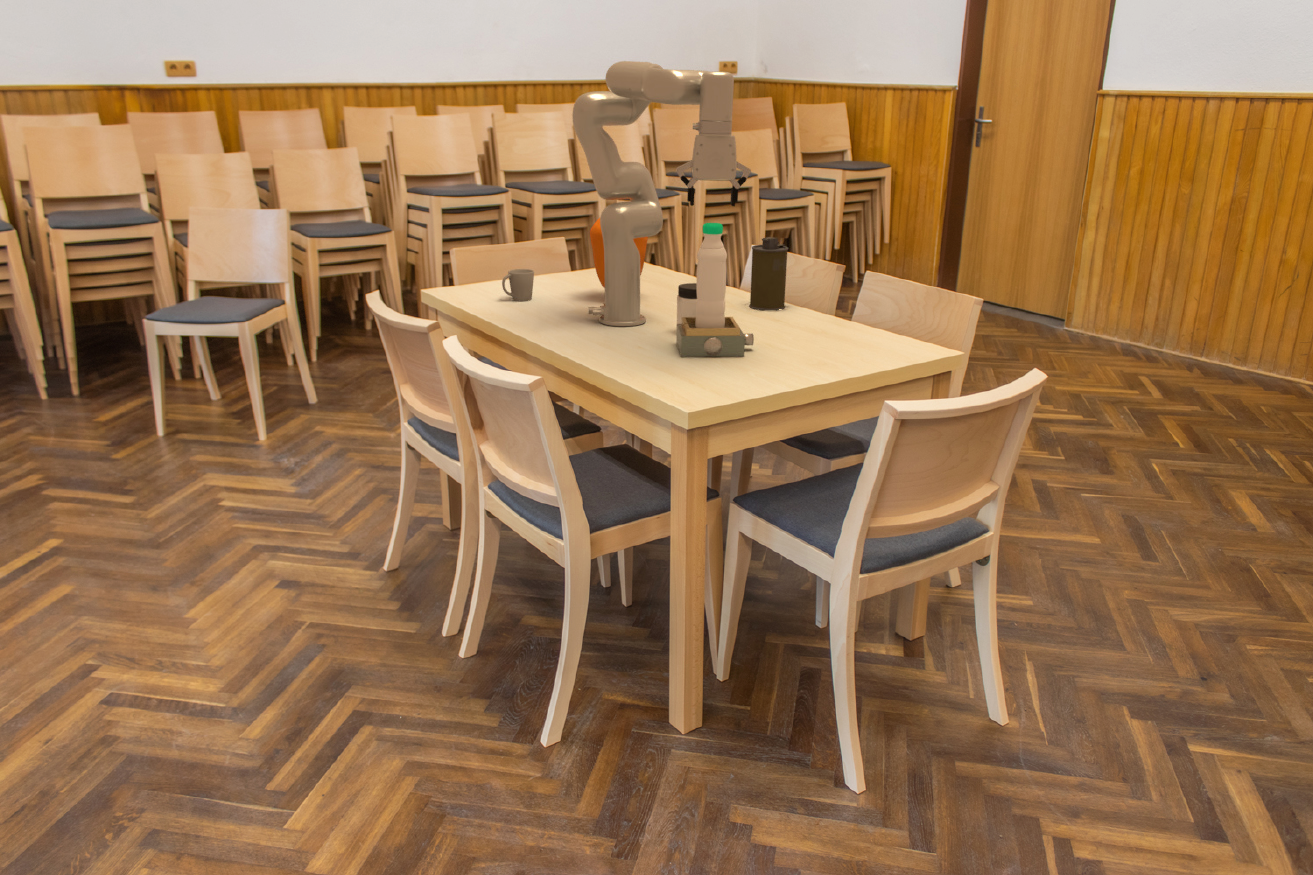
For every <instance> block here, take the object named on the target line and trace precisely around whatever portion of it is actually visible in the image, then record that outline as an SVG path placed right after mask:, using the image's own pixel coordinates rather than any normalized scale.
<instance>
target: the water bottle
mask: <svg viewBox="0 0 1313 875" xmlns="http://www.w3.org/2000/svg"><path fill="white" fill-rule="evenodd" d="M723 233H724V226H723V224H722V223H721V222H705V223H704V224H702V235H703V237H704V238H703V240H702V242H701V245H700V246H699V248H698V250H697V254H696V258H697V259H696V260H697V265H696V283H697V301H696V322H695V326H696V328H724V327H725V317H726V316H725V312H726V299H725V297H726V289H727V287H726V286H727V259H728V253H727V250H726V248H725V247H724V246H725V245H724V243H723V241H722V239H721V238H722V236H723Z"/></svg>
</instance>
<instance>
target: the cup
mask: <svg viewBox="0 0 1313 875" xmlns="http://www.w3.org/2000/svg"><path fill="white" fill-rule="evenodd" d="M534 278H535V271H534V270H533V269H527V268H517V269H509V270H508V272H507V274H506V275H504V277H503V278H502V283H501V284H502V289H503V292H504V293H505V294H506V295H507V296H510V297H511V298H512V300H513V301H514V300H515V302H529V301H531V300H532V299H533V290H534V289H533V287H534V281H535V280H534ZM507 279H508V280H509V287H510V288H509V289H510V291H508V290H507V289H506V284H505V283H506V280H507ZM528 300H529V301H528Z"/></svg>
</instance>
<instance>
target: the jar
mask: <svg viewBox="0 0 1313 875" xmlns="http://www.w3.org/2000/svg"><path fill="white" fill-rule="evenodd" d="M677 292H678V293H677V295H676V296H677V297H676V325H677V324H682V317H696V301H697V282H696V283H695V282H692V283H690V282H688V283H682V284H680V285H678V291H677Z"/></svg>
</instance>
